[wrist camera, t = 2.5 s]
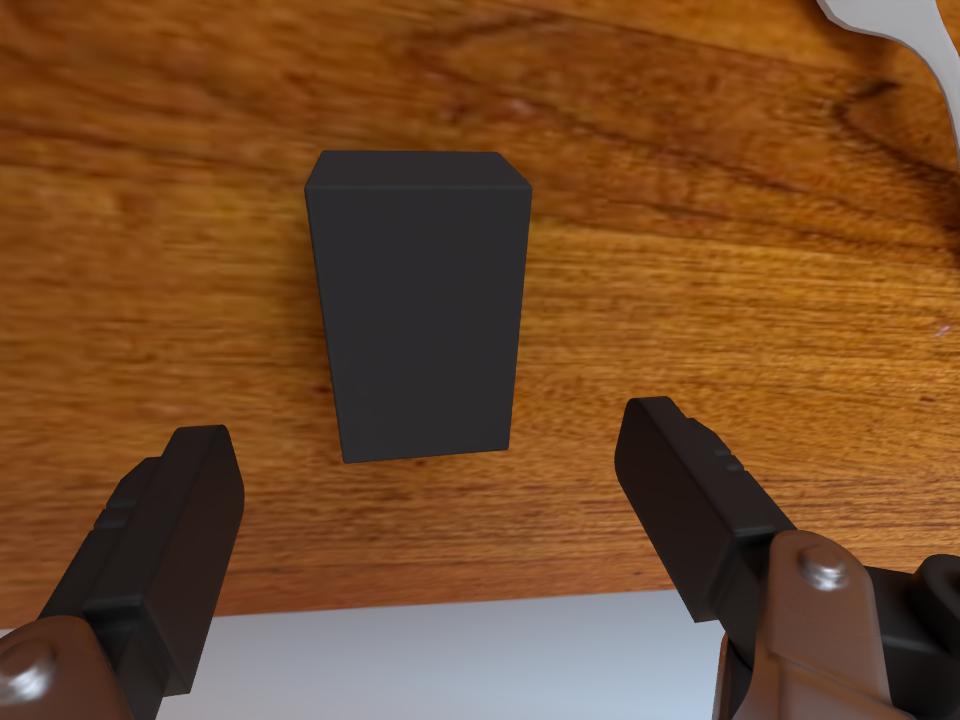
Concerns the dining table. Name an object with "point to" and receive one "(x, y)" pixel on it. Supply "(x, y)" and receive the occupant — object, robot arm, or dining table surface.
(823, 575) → the robot arm
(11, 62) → the dining table surface
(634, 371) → the dining table surface
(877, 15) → the fork
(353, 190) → the pad
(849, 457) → the dining table surface
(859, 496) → the dining table surface
